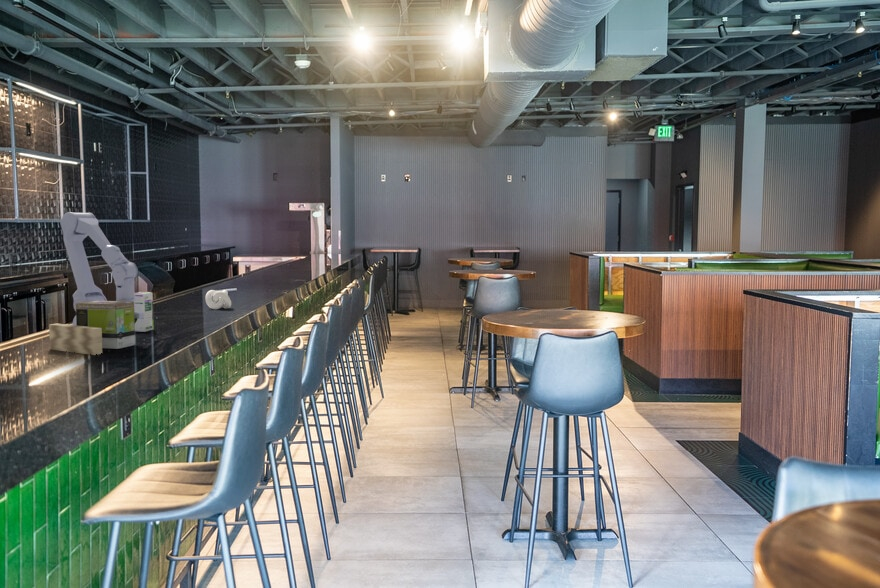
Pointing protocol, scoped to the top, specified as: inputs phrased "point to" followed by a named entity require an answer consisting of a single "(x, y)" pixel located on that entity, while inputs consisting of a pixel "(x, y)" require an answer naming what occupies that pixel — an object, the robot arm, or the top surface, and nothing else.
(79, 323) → the tea box
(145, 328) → the syrup box
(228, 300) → the white curved lump
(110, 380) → the top surface
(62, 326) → the birch board
